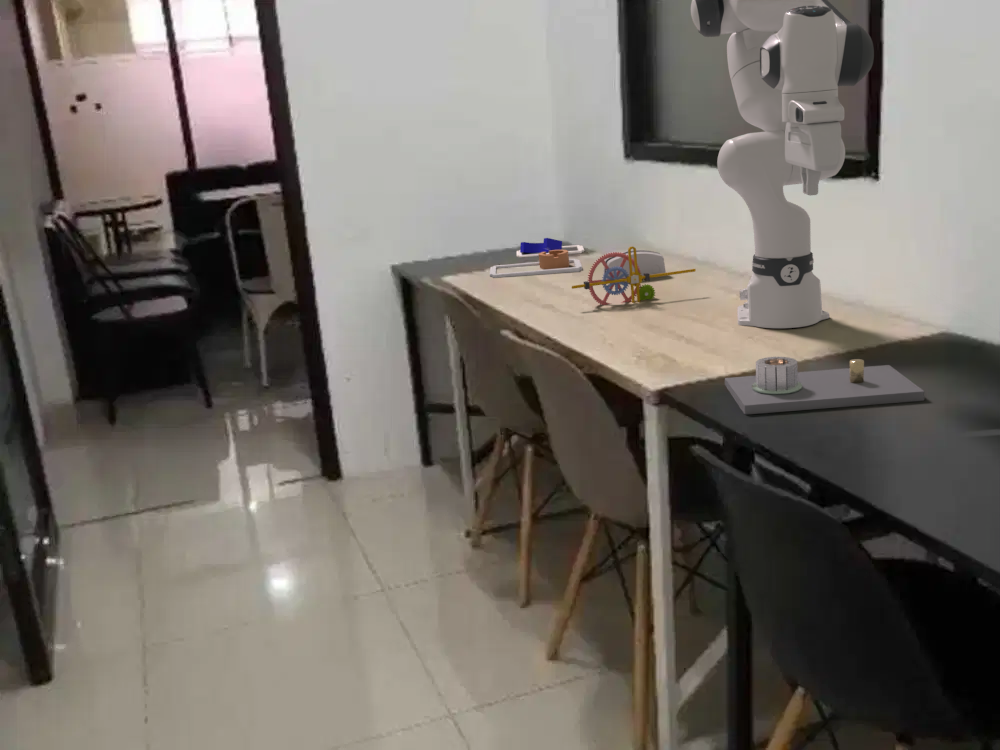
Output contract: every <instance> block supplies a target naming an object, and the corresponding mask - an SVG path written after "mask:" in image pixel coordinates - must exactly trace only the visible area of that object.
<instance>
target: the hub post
mask: <svg viewBox="0 0 1000 750" xmlns="http://www.w3.org/2000/svg"><path fill="white" fill-rule="evenodd" d="M769 365H783V364H782V363H772V364H769ZM801 389H802V384H801V383H800V382H798V386H797V387H796V388H794V389H790V390H786V391H767V390H763V389H759V388H758V387H757V386H756V382H755V383H753V384H752V390H753V391H755V392H757V393H761V394H767V395H785V394H792V393H796V392H798V391H800V390H801Z"/></svg>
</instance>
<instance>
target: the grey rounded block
mask: <svg viewBox="0 0 1000 750" xmlns="http://www.w3.org/2000/svg"><path fill="white" fill-rule="evenodd" d="M620 253H624V254H626V255H628V250H625V251H623V252H620ZM636 255H637V264H638V265H637V266H639V267H638V268H640V269H639V270H641V271H640V273H641V274H640V275H642V276H644V273H649V275H654V274H661V273H667V272H666V266H665V258H664V256H663V255H662V254H661V253H660V252H657V251H651V250H647V249H636ZM631 257H632V258H633V259H634V252H633V249H631ZM604 261H605V262H606V264H607V265H608V267H609V268H611V269H612V267H613V268H614V266H615V267H616V266H618V267H620V265H621V263H622V261H623V258H622V257H610V258H607V259H605V260H604ZM623 268H624V270H626V272H628V273H627V274H629V275H630V270H629V261H628V260H626V262H625V264H624V266H623ZM623 268H622V269H623ZM606 271H607V270H606V269H605V267H604V266H603V273H602V277H604V276H603V275H605V274H604V273H606ZM617 271H618V270H617ZM633 272H634V273H635V268H634V266H633V265H632V273H633ZM612 273H613V275H614V271H612ZM622 274H623V272H620V274H619V276H620V275H622ZM629 275H628V276H629ZM608 276H610V275H609V274H608ZM619 276H618V277H619ZM660 277H662V276H660ZM622 278H626V277H625V276H624V277H622ZM606 279H607V278H606Z"/></svg>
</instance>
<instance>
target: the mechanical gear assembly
mask: <svg viewBox="0 0 1000 750" xmlns="http://www.w3.org/2000/svg"><path fill="white" fill-rule="evenodd" d="M631 250H633V252H634V259H633V258H632V257H631ZM636 250H637V249H636V247H635V246H629V247H628V248H627V251H628V255H626V254H624V253H621V252H619V251H615V252H614V251H613V252H612V251H610V252H608V253H606V254H603V255H601V256H599V258H597V259H596V260H595V261H594V262H593V263H592V265H591V267H590V270H588V271H589V272H588V275H587V276H588V277H587V281H583V284H577V285H571V289H572V290H573V289H580V288H583V289H585V290H588V291H589V293H590V295H591V297H592V299H593V300H594V301H595V302H596V303H597V304H599V305H601V306H604V305H612V303H610V302H607V301H608V299H609V297H610V295H612V296H613V295H614V296H619V295H621V296H622V297H623V299H624V300H623V301H621V302H620V303H630V302H632V303H633V304H635V299H636V301H637V303H641V301H644V300H653V299H655V296H656V289H655V288H654V287H653V285H651V284H647V283H644V284H642V283H643V281H645V282H648V281H650V280H651V279H652V278H659V277H660V276H661V277H666V276H667V277H668V276H673V275H679V274H680V275H681V274H687V273H694V272H696V268H690V269H683V270H682V269H681V270H675V271H669V272H668V271H667V272H666V273H661V274H654V275H649V273H644V276H642V275H640V274H641V273H640V271H641V270H639V269H640V268H638V267H639V266H637V265H638V264H637V255H636ZM610 257H622V258H623V261H622V263H621V265H620V267H618V266H616V267H615V266H614V268H613V267H612V269H611V268H609V267H608V265H607V264H606V262H605V260H606V259H607V258H610ZM626 260H628V261H629V270H630V275H629V274H627V273H628V272H626V270H624V268H623V266H624V264H625V262H626ZM600 264H602V265H603V268H604V267H605V269H606V270H607V271H606V273H604V272H603V273H604V274H605V275H603V274H602V277H601V278H602V279H598V280H597V279H596V280H595V279H594V280H593V276H594V273H595V272H596V269H597V267H599V265H600ZM632 265H633V266H634V268H635V273H634V272H633V273H632ZM622 268H623V269H622ZM617 270H618V271H617ZM612 271H614V275H613V273H612ZM620 272H623V274H622V275H620V276H619V274H620ZM608 274H609V275H610V276H608ZM628 275H629V276H628ZM603 276H604V277H603ZM618 276H619V277H618ZM624 276H625V277H626V278H622V277H624ZM606 278H607V279H606ZM621 285H622V286H623V287H622V286H621ZM629 285H630V292H631V293H630V296H629V297H628V296H627V294H626V293H625V292H626V291H627V290H626V289H628V287H629ZM595 286H602V288H603V290H605V292H606V294H605V296H604V298H603V300H602V299H601V298H600V297H599V296H598V295H597V293H596V292H595V289H594V287H595ZM634 287H635V288H634ZM613 289H614V290H613Z"/></svg>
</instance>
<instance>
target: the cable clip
mask: <svg viewBox="0 0 1000 750" xmlns="http://www.w3.org/2000/svg"><path fill="white" fill-rule="evenodd" d="M562 246H563V241H562V240H559V239H553V238H551V237H544V238H543V242H526V241H521V242H520V249H519V250H520V252H521V253H522V254H539V253H541V252H546V253H549V251H550V250H563V248H562Z"/></svg>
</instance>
